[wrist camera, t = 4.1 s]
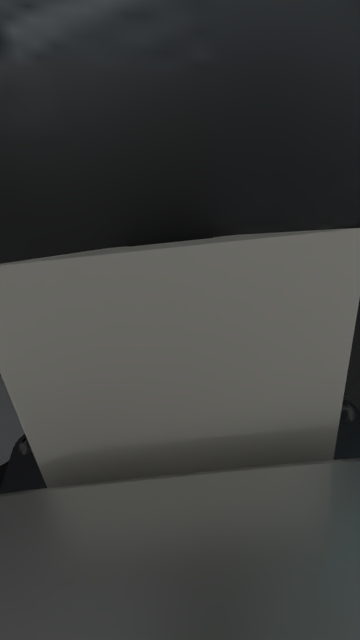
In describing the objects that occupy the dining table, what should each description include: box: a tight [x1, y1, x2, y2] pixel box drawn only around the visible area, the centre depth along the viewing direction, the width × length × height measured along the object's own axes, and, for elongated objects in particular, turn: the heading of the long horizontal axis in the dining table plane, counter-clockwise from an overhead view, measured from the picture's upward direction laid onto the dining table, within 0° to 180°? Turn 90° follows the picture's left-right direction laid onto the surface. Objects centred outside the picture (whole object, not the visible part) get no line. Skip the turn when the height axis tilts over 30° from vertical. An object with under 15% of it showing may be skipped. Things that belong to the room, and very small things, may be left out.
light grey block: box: [0, 228, 360, 488], centre depth 9 cm, size 13×6×8 cm, turn 6°
